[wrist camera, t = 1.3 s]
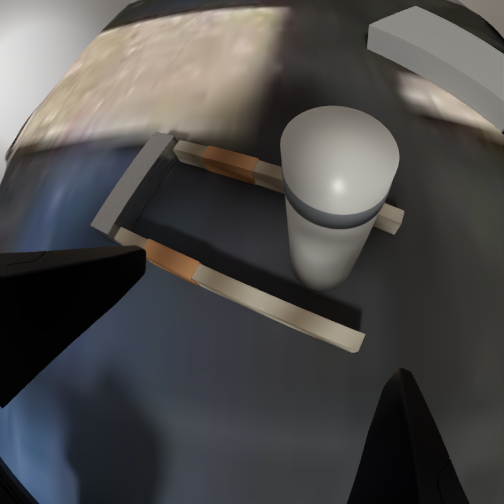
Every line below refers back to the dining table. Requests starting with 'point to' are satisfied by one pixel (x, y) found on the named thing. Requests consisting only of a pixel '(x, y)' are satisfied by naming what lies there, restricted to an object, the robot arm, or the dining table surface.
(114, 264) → the robot arm
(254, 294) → the beige u-shaped frame
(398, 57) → the disc drive
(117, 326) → the dining table surface
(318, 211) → the grey capped post
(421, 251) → the dining table surface
